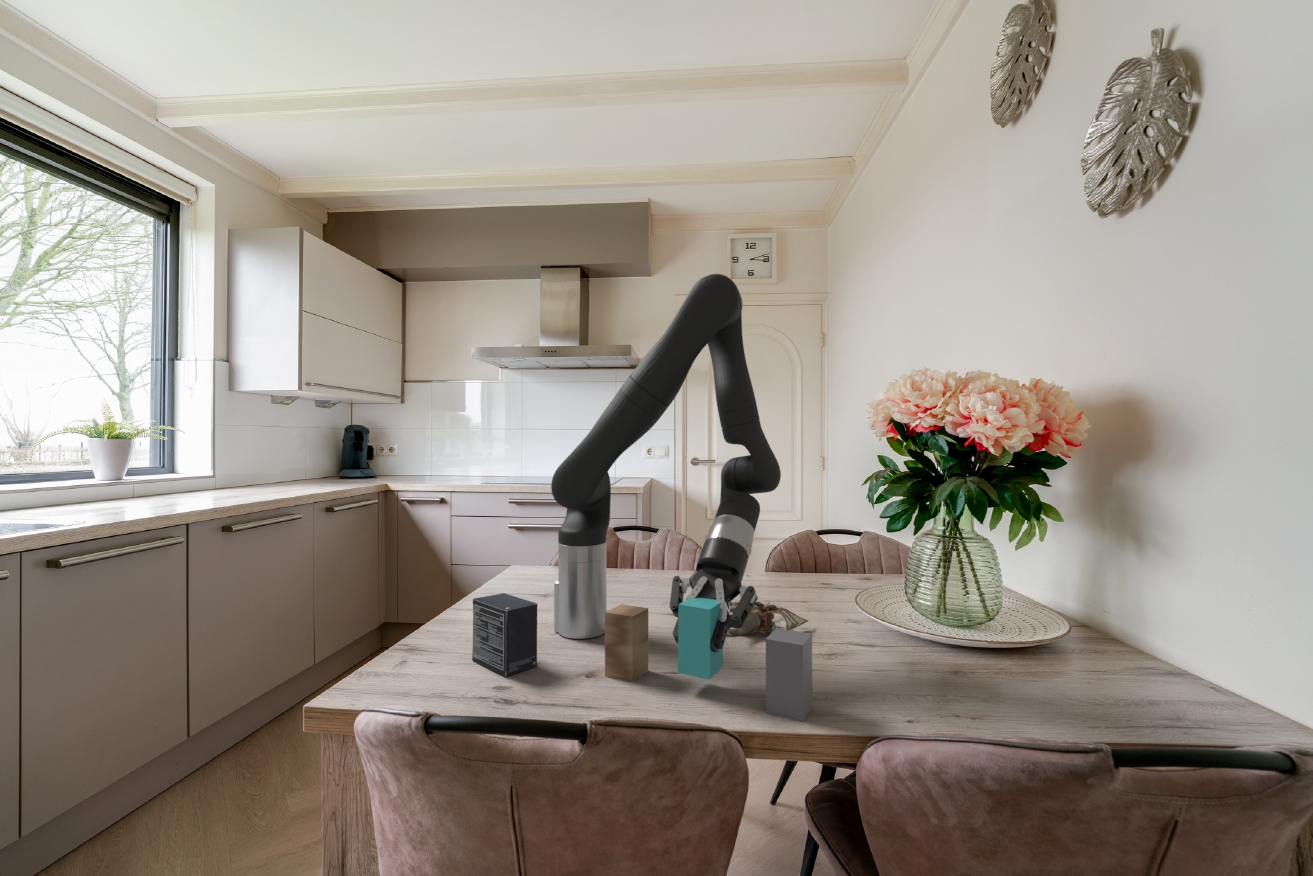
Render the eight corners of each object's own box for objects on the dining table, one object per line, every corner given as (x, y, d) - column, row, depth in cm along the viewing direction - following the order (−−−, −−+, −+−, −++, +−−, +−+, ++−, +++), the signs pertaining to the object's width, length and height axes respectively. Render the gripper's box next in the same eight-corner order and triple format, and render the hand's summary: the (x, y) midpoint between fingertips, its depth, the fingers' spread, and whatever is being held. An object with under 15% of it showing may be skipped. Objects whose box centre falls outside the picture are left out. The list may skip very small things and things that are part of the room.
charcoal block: (766, 713, 77) (765, 638, 77) (776, 698, 81) (776, 628, 81) (803, 721, 75) (802, 645, 75) (812, 706, 79) (811, 633, 79)
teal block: (677, 672, 83) (678, 604, 83) (692, 661, 88) (692, 596, 88) (709, 679, 81) (710, 609, 81) (722, 667, 85) (723, 600, 85)
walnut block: (605, 676, 89) (604, 612, 89) (621, 665, 94) (621, 604, 94) (632, 682, 87) (632, 616, 87) (648, 670, 91) (648, 608, 92)
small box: (540, 666, 93) (540, 602, 94) (505, 678, 89) (505, 610, 89) (504, 650, 101) (504, 590, 101) (470, 660, 96) (470, 598, 96)
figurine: (726, 589, 123) (807, 594, 119) (726, 618, 122) (807, 624, 118) (713, 609, 103) (810, 617, 99) (713, 644, 103) (810, 653, 99)
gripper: (680, 531, 94) (643, 625, 84) (764, 539, 88) (736, 642, 77) (693, 557, 99) (660, 649, 89) (774, 567, 92) (748, 668, 82)
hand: (695, 645), depth 83 cm, fingers closed on teal block, 5 cm apart
